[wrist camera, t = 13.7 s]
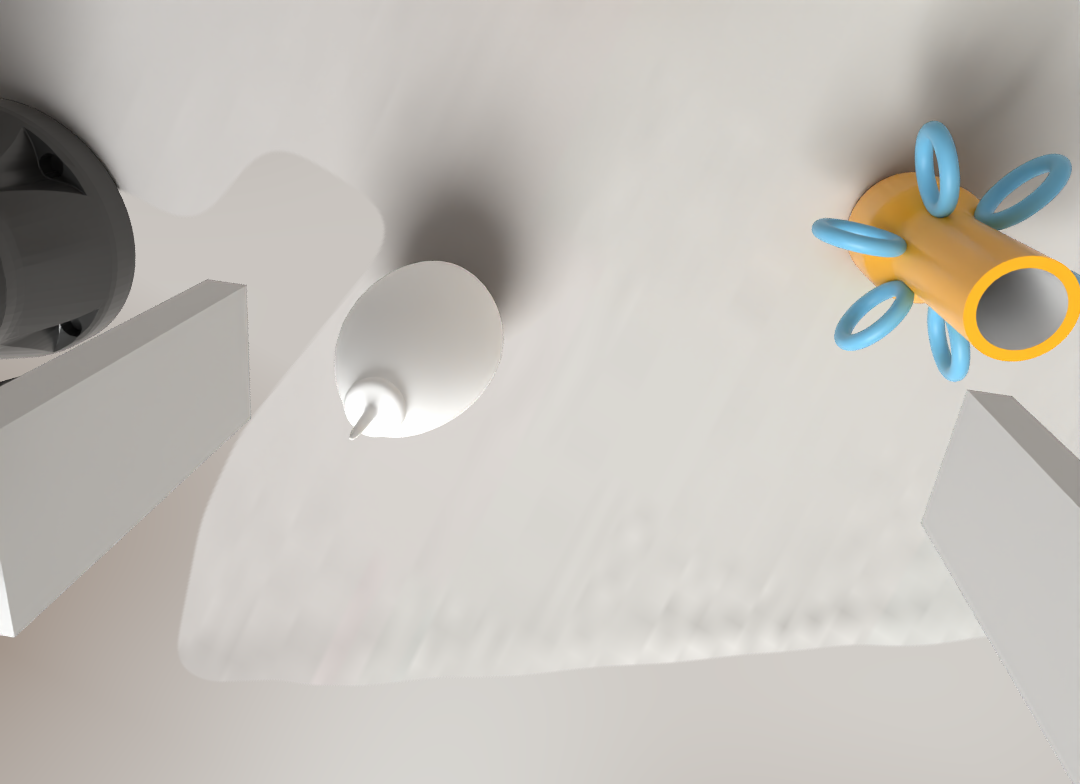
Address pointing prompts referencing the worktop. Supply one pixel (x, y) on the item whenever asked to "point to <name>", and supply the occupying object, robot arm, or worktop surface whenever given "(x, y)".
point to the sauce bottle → (417, 350)
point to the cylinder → (957, 260)
